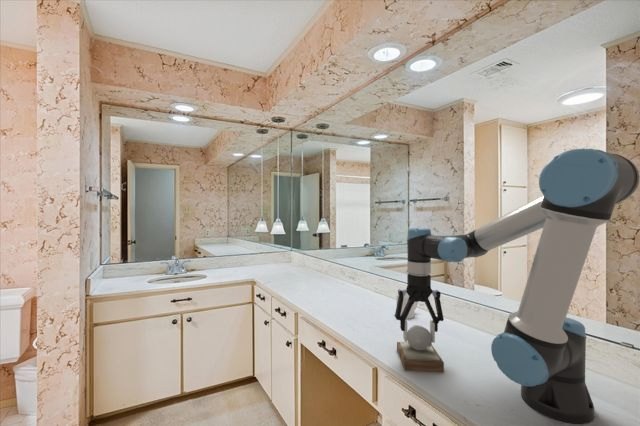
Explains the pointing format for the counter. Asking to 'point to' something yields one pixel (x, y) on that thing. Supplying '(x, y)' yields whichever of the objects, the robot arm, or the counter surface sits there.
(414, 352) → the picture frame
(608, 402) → the counter surface
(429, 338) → the seashell
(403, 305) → the mug
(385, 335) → the counter surface
